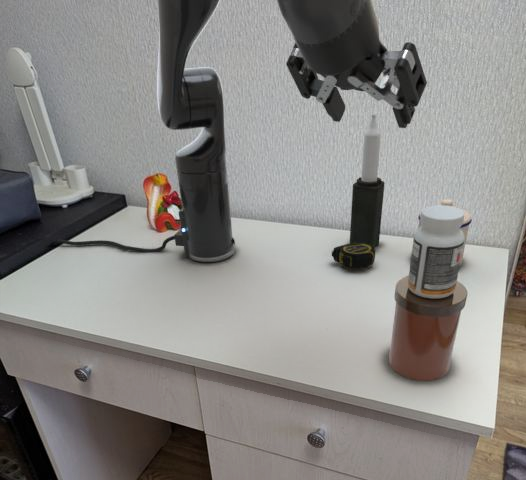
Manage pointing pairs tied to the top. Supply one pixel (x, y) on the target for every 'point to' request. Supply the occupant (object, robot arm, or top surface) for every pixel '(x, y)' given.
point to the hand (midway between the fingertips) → (371, 118)
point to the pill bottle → (436, 252)
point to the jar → (424, 332)
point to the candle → (368, 192)
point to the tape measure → (354, 255)
